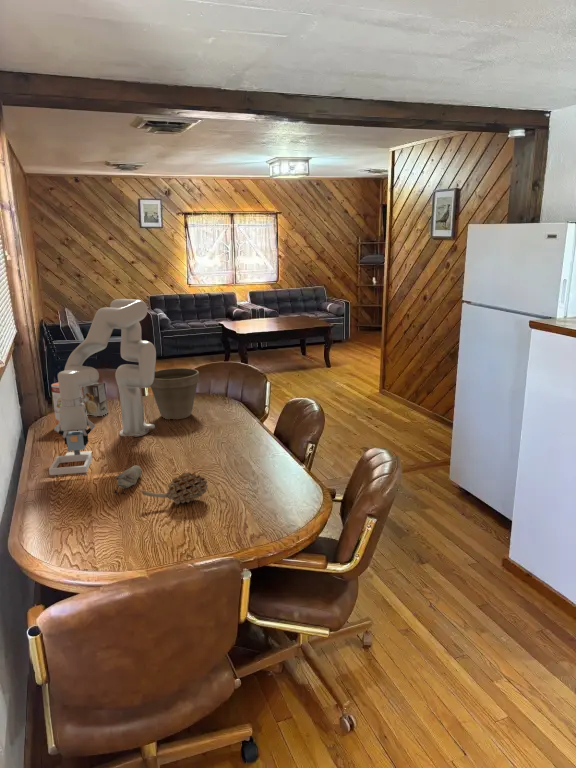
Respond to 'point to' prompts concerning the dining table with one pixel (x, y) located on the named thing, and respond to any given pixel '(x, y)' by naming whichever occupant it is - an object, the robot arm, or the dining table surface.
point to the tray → (69, 470)
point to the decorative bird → (128, 478)
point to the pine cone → (183, 488)
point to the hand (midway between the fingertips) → (77, 444)
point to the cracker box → (58, 400)
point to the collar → (75, 440)
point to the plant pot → (175, 391)
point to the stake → (78, 452)
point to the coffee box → (95, 399)
